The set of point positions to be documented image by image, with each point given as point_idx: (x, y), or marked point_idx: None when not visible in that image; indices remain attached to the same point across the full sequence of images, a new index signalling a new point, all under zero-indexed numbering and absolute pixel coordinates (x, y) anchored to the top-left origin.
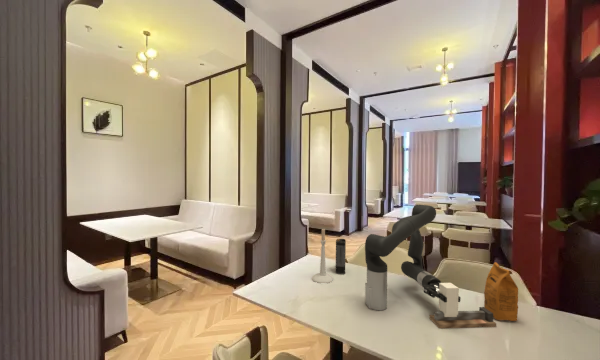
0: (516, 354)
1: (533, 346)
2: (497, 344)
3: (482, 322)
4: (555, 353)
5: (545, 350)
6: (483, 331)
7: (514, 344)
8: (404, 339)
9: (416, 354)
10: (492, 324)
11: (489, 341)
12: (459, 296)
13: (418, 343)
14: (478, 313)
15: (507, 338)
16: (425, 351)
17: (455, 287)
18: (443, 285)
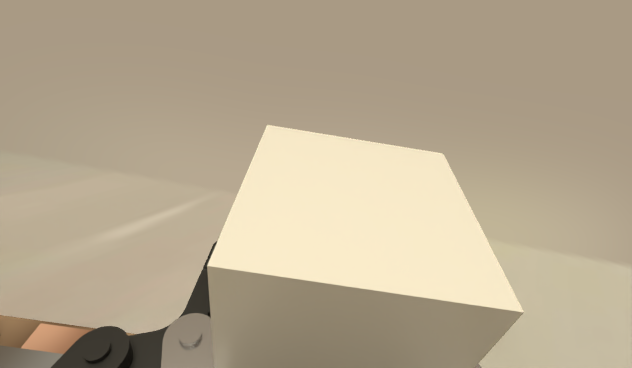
0: (192, 186)
1: (59, 192)
2: (196, 226)
3: (65, 332)
4: (42, 161)
5: (51, 174)
6: (139, 305)
7: (121, 213)
8: (608, 329)
9: (549, 251)
10: (4, 319)
11: (208, 244)
12: (211, 252)
13: (540, 294)
14: (11, 350)
15: (91, 241)
16: (515, 255)
17: (299, 139)
18: (461, 210)
